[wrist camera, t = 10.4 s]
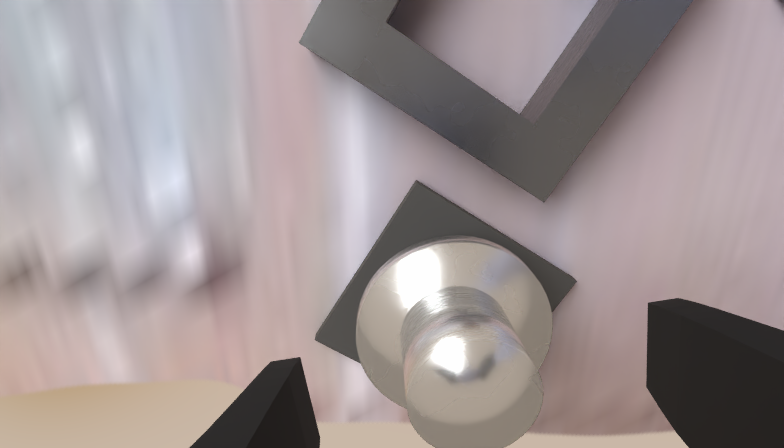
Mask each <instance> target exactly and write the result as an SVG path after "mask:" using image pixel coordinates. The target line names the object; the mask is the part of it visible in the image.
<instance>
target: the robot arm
mask: <svg viewBox="0 0 784 448" xmlns="http://www.w3.org/2000/svg"><path fill="white" fill-rule="evenodd" d="M646 387H647V389H648V390H649V392H650V393H651V395H652V397H653V398H654V400H655V401H656V403H657V404H658V406H659V408H660V409H661V411H662V412H663V414H664V415H665V417H666V418H667V420H668V421H669V422H670V424H671V425H672V427H673V428H674V430H675V431H676V433H677V434H678V435H679V436H680V437H681V439H682V440H683V441H684V442H685V444H686V445H687V446H688V447H689V448H784V331H783V330H780V329H777V328H774V327H771V326H768V325H765V324H762V323H759V322H756V321H753V320H750V319H746V318H743V317H740V316H737V315H734V314H731V313H728V312H725V311H722V310H719V309H716V308H713V307H709V306H706V305H703V304H699V303H696V302H692V301H688V300H684V299H679V298H676V299H669V300H663V301H657V302H650V303H648V332H647V383H646ZM319 447H320V436H319V432H318V428H317V424H316V419H315V415H314V411H313V407H312V403H311V399H310V395H309V391H308V387H307V383H306V379H305V375H304V371H303V367H302V363H301V359H300V357H298V358H292V359H285V360H279V361H273V362H270V363H269V364H268V365H267V366H266V367H265V368H264V369H263V370H262V371H261V372H260V373H259V374H258V376H257V377H256V378H255V379H254V380H253V381H252V382H251V383H250V384H249V385H248V387H247V388H246V389H245V390H244V391H243V392H242V393H241V394H240V395H239V397H238V398H237V399H236V400H235V401H234V402H233V403H232V404H231V405H230V406H229V407H228V409H226V411H225V412H224V413H223V414H222V415H221V416H220V417H219V418H218V419H217V420H216V421H215V422H214V424H212V426H211V427H210V428H209V429H208V430H207V431H206V432H205V433H204V434H203V435H202V436H201V437H200V438H199V439H198V440H197V441H196V442H195V443H194V444H193V445H192V446H191V447H190V448H319Z"/></svg>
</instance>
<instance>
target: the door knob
mask: <svg viewBox="0 0 784 448" xmlns="http://www.w3.org/2000/svg"><path fill="white" fill-rule="evenodd" d="M552 329H553V323H552V312H551V307H550V303H549V300H548V297H547V294H546V293H545V291H544V289H543V287H542V285H541V283H540V282H539V281H538V279H537V278H536V277H535V275H534V274H533V273H532V272H531V270H530V269H529V268H528V267H527V265H526V264H525V263H524V262H523V261H522V260H521V259H520V258H519V257H517V256H516V255H515V254H513V253H512V252H511V251H509V250H508V249H506V248H504V247H502V246H500V245H498V244H496V243H493V242H491V241H488V240H485V239H481V238H476V237H470V236H443V237H436V238H432V239H428V240H425V241H421V242H419V243H416V244H414V245H412V246H409V247H408V248H406V249H404V250H402V251H400V252H399V253H397V254H396V255H395V256H393V257H392V258H390V259H389V260H388V261H387V262H386V263H385V264H384V265H383V266H382V267H381V268H380V269H379V270H378V271H377V272H376V273H375V275H374V276H373V277H372V278H371V280H370V282H369V283H368V285H367V287H366V288H365V291H364V293H363V295H362V298H361V300H360V304H359V308H358V314H357V323H356V346H357V351H358V356H359V359H360V362H361V365H362V367H363V369H364V371H365V373H366V375H367V376H368V378H369V379H370V380H371V382H372V383H373V385H374V386H375V387H376V388H377V389H378V390H379V391H380V392H381V393H382V394H383V395H385V396H386V397H387V398H389V399H390V400H391V401H393V402H395V403H396V404H398V405H400V406H402V407H404V408H406V409H407V411H408V416H409V419H410V422H411V424H412V425H413V427H414V429H415V430H416V431H417V433H418V434H419V435H420V436H421V437H422V438H423V439H424V440H425V441H426V442H428V443H429V444H430V445H432V446H434V447H435V448H504V447H506V446H508V445H510V444H512V443H513V442H515V441H516V440H518V439H519V438H520V437H521V436H523V435H524V434H525V433H526V432H527V431H528V430H529V428H530V427H531V426H532V425H533V423H534V422H535V420H536V418H537V417H538V414H539V412H540V409H541V406H542V401H543V385H542V380H541V378H540V375H539V373H538V370H539V368H540V367H541V365H542V363H543V361H544V359H545V357H546V355H547V352H548V350H549V346H550V342H551V338H552Z"/></svg>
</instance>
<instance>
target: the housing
mask: <svg viewBox="0 0 784 448" xmlns="http://www.w3.org/2000/svg"><path fill="white" fill-rule="evenodd" d="M692 1H693V0H598V2H597V3H596V5H595V6H594V7H593V9H592V10H591V12H590V13H589V15H588V16H587V18H586V19H585V21H584V22H583V23H582V25H581V26H580V28H579V29H578V31H577V32H576V34H575V35H574V37H573V38H572V40H571V41H570V42H569V44H568V45H567V47H566V48H565V50H564V51H563V53H562V54H561V56H560V57H559V58H558V60H557V61H556V63H555V64H554V66H553V67H552V69H551V70H550V72H549V73H548V74H547V76H546V77H545V79H544V80H543V82H542V83H541V85H540V86H539V88H538V89H537V91H536V92H535V93H534V95H533V96H532V98H531V99H530V101H529V102H528V104H527V105H526V107H525V108H524V109H523V111H522V112H521V114H518V113H517V112H515V111H514V110H512V109H511V108H510V107H508V106H507V105H505V104H504V103H502V102H501V101H499V100H498V99H496V98H495V97H494V96H492V95H491V94H489V93H488V92H486V91H485V90H483V89H482V88H480V87H479V86H478V85H476V84H475V83H473V82H472V81H470V80H469V79H467V78H466V77H465V76H463V75H462V74H460V73H459V72H457V71H456V70H454V69H453V68H451V67H450V66H449V65H447V64H446V63H444V62H443V61H441V60H440V59H438V58H437V57H435V56H434V55H433V54H431V53H430V52H428V51H427V50H425V49H424V48H422V47H421V46H419V45H418V44H417V43H415V42H414V41H412V40H411V39H409V38H408V37H406V36H405V35H403V34H402V33H401V32H399V31H398V30H396V29H395V28H393V27H392V26H390V25H389V24H387V23H388V21H389V19H390V17H391V16H392V14H393V12H394V10H395V9H396V7H397V5H398V4H399V2H400V0H321V2H320V4H319V6H318V8H317V10H316V12H315V14H314V15H313V17H312V19H311V21H310V23H309V25H308V27H307V28H306V30H305V32H304V34H303V36H302V38H301V40H300V41H299V43H300V44H301V45H303V46H304V47H306V48H307V49H309V50H310V51H312V52H313V53H315V54H317V55H318V56H320V57H321V58H323V59H324V60H326V61H327V62H329V63H330V64H332V65H334V66H335V67H337V68H338V69H340V70H341V71H343V72H344V73H346V74H347V75H349V76H350V77H352V78H354V79H355V80H357V81H358V82H360V83H361V84H363V85H364V86H366V87H367V88H369V89H370V90H372V91H374V92H375V93H377V94H378V95H380V96H381V97H383V98H384V99H386V100H387V101H389V102H390V103H392V104H394V105H395V106H397V107H398V108H400V109H401V110H403V111H404V112H406V113H407V114H409V115H410V116H412V117H414V118H415V119H417V120H418V121H420V122H421V123H423V124H424V125H426V126H427V127H429V128H430V129H432V130H434V131H435V132H437V133H438V134H440V135H441V136H443V137H444V138H446V139H447V140H449V141H451V142H452V143H454V144H455V145H457V146H458V147H460V148H461V149H463V150H464V151H466V152H467V153H469V154H471V155H472V156H474V157H475V158H477V159H478V160H480V161H481V162H483V163H484V164H486V165H487V166H489V167H491V168H492V169H494V170H495V171H497V172H498V173H500V174H501V175H503V176H504V177H506V178H507V179H509V180H511V181H512V182H514V183H515V184H517V185H518V186H520V187H521V188H523V189H524V190H526V191H527V192H529V193H531V194H532V195H534V196H535V197H537V198H538V199H540V200H541V201H543V202H545V201H546V199H547V198H548V197H549V195H550V194H551V192H552V191H553V190H554V188H555V187H556V186H557V184H558V183H559V182H560V180H561V179H562V178H563V176H564V175H565V173H566V172H567V171H568V169H569V168H570V167H571V165H572V164H573V163H574V161H575V160H576V159H577V157H578V156H579V154H580V153H581V152H582V150H583V149H584V148H585V146H586V145H587V144H588V142H589V141H590V140H591V138H592V137H593V135H594V134H595V133H596V131H597V130H598V129H599V127H600V126H601V125H602V123H603V122H604V121H605V119H606V118H607V116H608V115H609V114H610V112H611V111H612V110H613V108H614V107H615V106H616V104H617V103H618V102H619V100H620V99H621V97H622V96H623V95H624V93H625V92H626V91H627V89H628V88H629V87H630V85H631V84H632V83H633V81H634V80H635V79H636V77H637V76H638V74H639V73H640V72H641V70H642V69H643V68H644V66H645V65H646V64H647V62H648V61H649V60H650V58H651V57H652V55H653V54H654V53H655V51H656V50H657V49H658V47H659V46H660V45H661V43H662V42H663V41H664V39H665V38H666V36H667V35H668V34H669V32H670V31H671V30H672V28H673V27H674V26H675V24H676V23H677V22H678V20H679V19H680V17H681V16H682V15H683V13H684V12H685V11H686V9H687V8H688V7H689V5H690V4H691V3H692Z"/></svg>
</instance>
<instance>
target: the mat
mask: <svg viewBox="0 0 784 448" xmlns="http://www.w3.org/2000/svg"><path fill="white" fill-rule="evenodd" d="M443 236H470V237H476V238H481V239H485V240H488V241H491V242H493V243H496V244H498V245H500V246H502V247H504V248H506V249H508V250H509V251H511V252H512V253H513V254H515V255H516V256H517V257H519V258H520V259H521V260H522V261H523V262H524V263H525V264H526V265H527V267H528V268H529V269H530V270H531V272H532V273H533V274H534V275H535V277H536V278H537V279H538V281H539V282H540V283H541V285H542V287H543V289H544V291H545V293H546V294H547V297H548V300H549V303H550V307H551V312H553V311H554V309H555V308H556V307H557V306H558V304H559V303H560V302H561V301H562V299H563V298H564V297H565V296H566V294H567V293H568V292H569V291H570V289H571V288H572V287H573V286H574V284H575V283H576V282H577V281H576V280H575V279H574V278H573V277H572V276H570V275H569V274H567V273H565V272H564V271H562V270H561V269H559V268H557V267H556V266H554V265H552V264H551V263H549V262H548V261H546V260H544V259H543V258H541V257H540V256H538V255H536V254H535V253H533V252H531V251H530V250H528V249H527V248H525V247H523V246H522V245H520V244H519V243H517V242H515V241H514V240H512V239H510V238H509V237H507V236H506V235H504V234H502V233H501V232H499V231H498V230H496V229H494V228H493V227H491V226H489V225H488V224H486V223H485V222H483V221H481V220H480V219H478V218H477V217H475V216H473V215H472V214H470V213H468V212H467V211H465V210H464V209H462V208H460V207H459V206H457V205H456V204H454V203H452V202H451V201H449V200H447V199H446V198H444V197H443V196H441V195H439V194H438V193H436V192H435V191H433V190H431V189H430V188H428V187H426V186H425V185H423V184H422V183H420V182H418V181H417V180H416V181H415V183H414V184H413V186H412V187H411V189H410V190H409V192H408V193H407V195H406V196H405V198H404V200H403V201H402V203H401V204H400V206H399V207H398V209H397V210H396V212H395V213H394V215H393V216H392V218H391V220H390V221H389V223H388V224H387V226H386V227H385V229H384V230H383V232H382V233H381V235H380V236H379V238H378V239H377V241H376V243H375V244H374V246H373V247H372V249H371V250H370V252H369V253H368V255H367V256H366V258H365V259H364V261H363V263H362V264H361V266H360V267H359V269H358V270H357V272H356V273H355V275H354V276H353V278H352V279H351V281H350V283H349V284H348V286H347V287H346V289H345V290H344V292H343V293H342V295H341V296H340V298H339V299H338V301H337V303H336V304H335V306H334V307H333V309H332V310H331V312H330V313H329V315H328V316H327V318H326V319H325V321H324V322H323V324H322V326H321V327H320V329H319V330H318V332H317V333H316V337H315V340H316V341H318V342H320V343H322V344H324V345H326V346H327V347H329V348H331V349H333V350H335V351H337V352H339V353H341V354H343V355H345V356H347V357H349V358H351V359H353V360H355V361H357V362H359V363H361V362H360V359H359V356H358V351H357V346H356V323H357V314H358V308H359V304H360V300H361V298H362V295H363V293H364V291H365V288H366V287H367V285H368V283H369V282H370V280H371V278H372V277H373V276H374V275H375V273H376V272H377V271H378V270H379V269H380V268H381V267H382V266H383V265H384V264H385V263H386V262H387V261H388V260H389V259H390V258H392V257H393V256H395V255H396V254H397V253H399V252H400V251H402V250H404V249H406V248H408V247H409V246H412V245H414V244H416V243H419V242H421V241H425V240H428V239H432V238H436V237H443Z"/></svg>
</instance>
